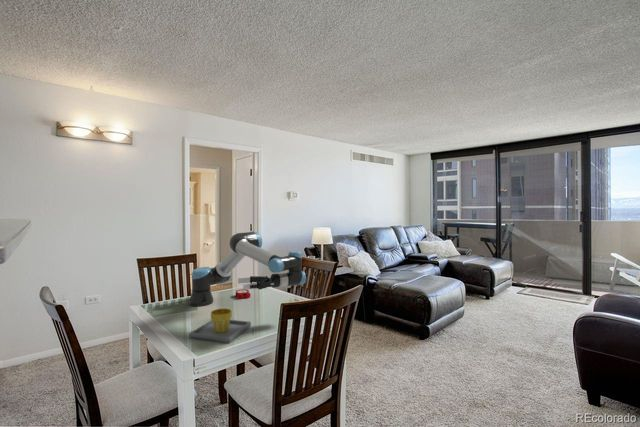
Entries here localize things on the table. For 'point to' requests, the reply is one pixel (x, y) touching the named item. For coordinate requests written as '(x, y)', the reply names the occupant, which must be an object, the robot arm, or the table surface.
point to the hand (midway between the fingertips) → (240, 283)
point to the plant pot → (221, 319)
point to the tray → (226, 337)
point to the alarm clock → (242, 294)
